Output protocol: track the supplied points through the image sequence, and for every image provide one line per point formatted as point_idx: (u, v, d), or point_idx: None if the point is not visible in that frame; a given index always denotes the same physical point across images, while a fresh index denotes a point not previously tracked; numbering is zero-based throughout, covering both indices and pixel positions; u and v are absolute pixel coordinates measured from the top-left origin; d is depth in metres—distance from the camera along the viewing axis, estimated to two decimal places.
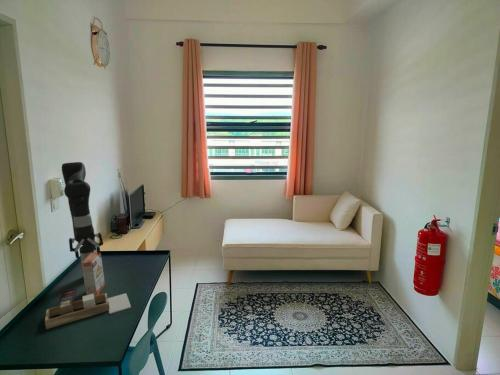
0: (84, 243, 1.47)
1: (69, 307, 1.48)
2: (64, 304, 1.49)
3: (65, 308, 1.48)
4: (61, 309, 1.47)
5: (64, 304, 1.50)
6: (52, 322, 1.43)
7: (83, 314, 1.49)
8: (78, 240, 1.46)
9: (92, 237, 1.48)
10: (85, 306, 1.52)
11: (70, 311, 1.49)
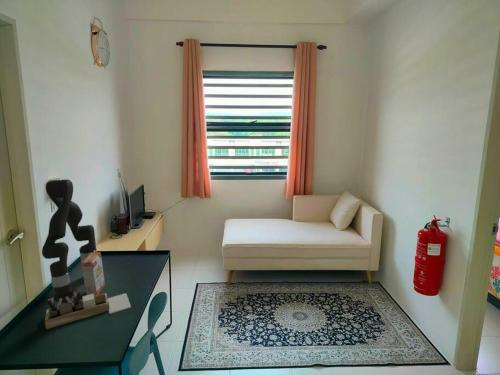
0: (62, 301, 1.48)
1: (69, 307, 1.48)
2: (64, 304, 1.49)
3: (65, 308, 1.48)
4: (61, 309, 1.47)
5: (64, 303, 1.49)
6: (52, 322, 1.43)
7: (83, 314, 1.49)
8: (56, 299, 1.47)
9: (71, 296, 1.50)
10: (85, 306, 1.52)
11: (70, 311, 1.49)
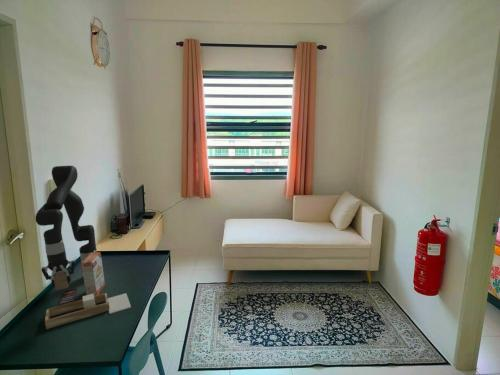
0: (57, 270, 1.45)
1: (63, 276, 1.45)
2: (58, 273, 1.46)
3: (59, 277, 1.45)
4: (55, 277, 1.44)
5: (59, 273, 1.47)
6: (52, 322, 1.43)
7: (83, 314, 1.49)
8: (50, 267, 1.44)
9: (65, 265, 1.47)
10: (85, 306, 1.52)
11: (65, 280, 1.46)
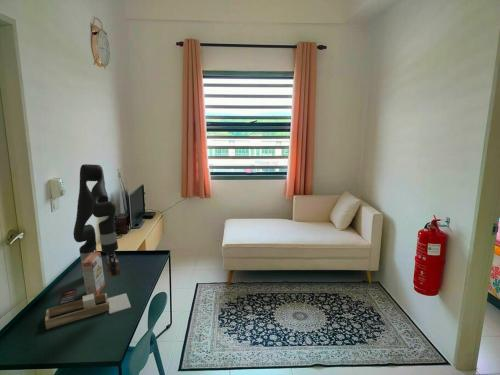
0: None
1: None
2: None
3: None
4: (105, 263, 1.56)
5: None
6: (52, 322, 1.43)
7: (83, 314, 1.49)
8: None
9: (109, 257, 1.52)
10: (85, 306, 1.52)
11: (106, 270, 1.54)
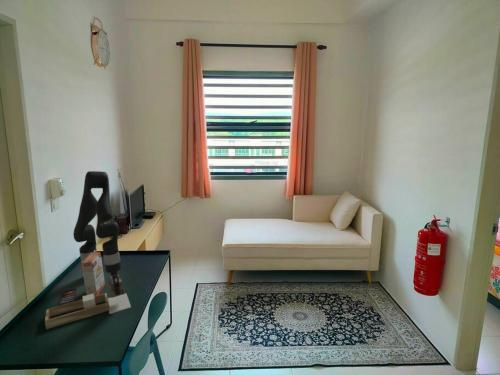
0: None
1: (109, 286, 1.56)
2: None
3: (109, 284, 1.57)
4: None
5: None
6: (52, 322, 1.43)
7: (83, 314, 1.49)
8: None
9: (112, 277, 1.55)
10: (85, 306, 1.52)
11: (110, 290, 1.56)
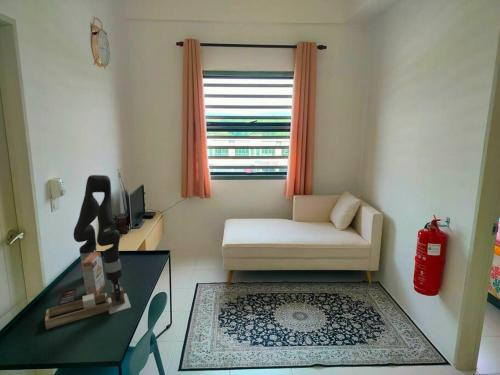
0: None
1: (110, 295, 1.56)
2: None
3: (110, 293, 1.58)
4: (110, 292, 1.59)
5: None
6: (52, 322, 1.43)
7: (83, 314, 1.49)
8: None
9: (113, 284, 1.55)
10: (85, 306, 1.52)
11: (111, 299, 1.57)
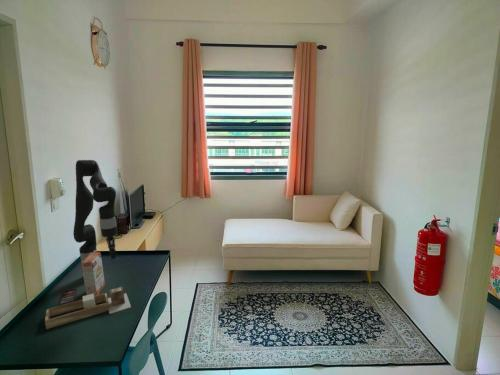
0: None
1: (110, 295, 1.56)
2: (114, 290, 1.59)
3: (110, 293, 1.58)
4: (110, 292, 1.59)
5: (115, 289, 1.59)
6: (52, 322, 1.43)
7: (83, 314, 1.49)
8: (107, 237, 1.61)
9: (108, 241, 1.56)
10: (85, 306, 1.52)
11: (111, 299, 1.57)
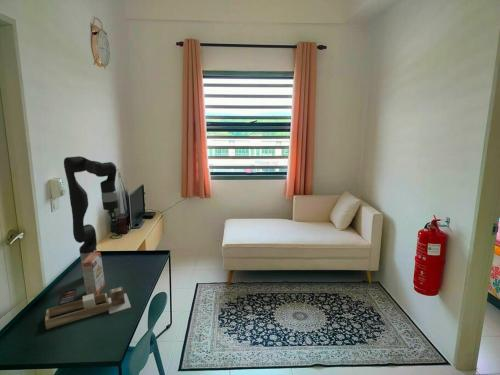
0: None
1: (110, 295, 1.56)
2: (114, 290, 1.59)
3: (110, 293, 1.58)
4: (110, 292, 1.59)
5: (115, 289, 1.59)
6: (52, 322, 1.43)
7: (83, 314, 1.49)
8: None
9: (110, 214, 1.63)
10: (85, 306, 1.52)
11: (111, 299, 1.57)
